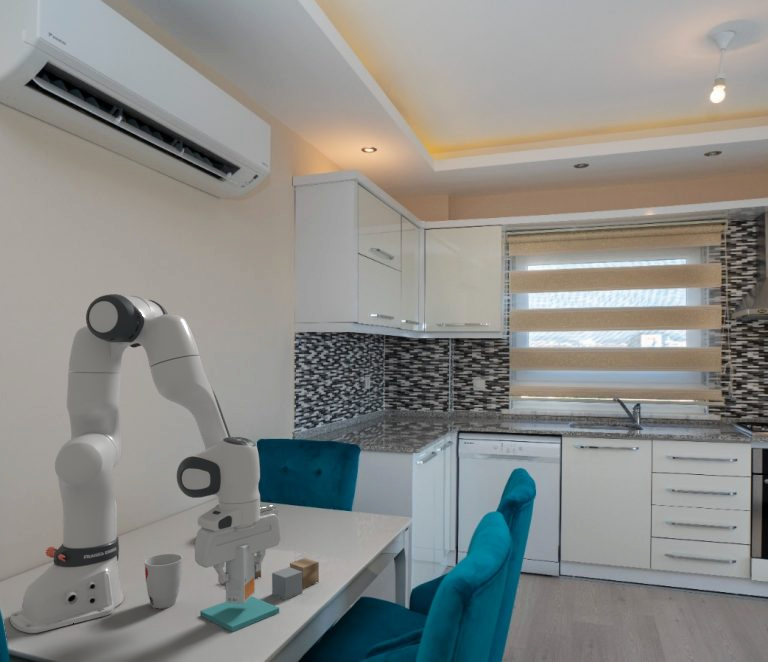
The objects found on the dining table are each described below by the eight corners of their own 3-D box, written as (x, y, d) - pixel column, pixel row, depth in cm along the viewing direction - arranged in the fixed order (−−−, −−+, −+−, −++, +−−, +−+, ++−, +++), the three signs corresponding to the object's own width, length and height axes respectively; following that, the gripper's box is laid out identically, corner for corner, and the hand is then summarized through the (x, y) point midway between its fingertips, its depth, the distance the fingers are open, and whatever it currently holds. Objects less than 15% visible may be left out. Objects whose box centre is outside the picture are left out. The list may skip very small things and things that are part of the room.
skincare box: (244, 604, 127) (243, 547, 127) (225, 603, 128) (224, 546, 128) (255, 593, 133) (254, 538, 133) (238, 592, 134) (237, 538, 134)
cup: (153, 596, 140) (153, 553, 141) (187, 596, 140) (187, 553, 140) (138, 611, 132) (138, 565, 133) (174, 611, 132) (174, 565, 132)
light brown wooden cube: (303, 588, 144) (303, 567, 144) (290, 583, 148) (289, 563, 148) (318, 582, 148) (318, 562, 148) (305, 577, 151) (305, 557, 152)
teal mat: (232, 631, 122) (232, 626, 122) (200, 615, 130) (200, 610, 130) (279, 612, 131) (279, 607, 131) (246, 598, 139) (246, 594, 139)
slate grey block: (285, 599, 138) (285, 577, 138) (272, 594, 141) (272, 572, 141) (302, 593, 141) (302, 571, 142) (288, 588, 145) (288, 567, 145)
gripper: (269, 500, 141) (269, 560, 140) (190, 519, 126) (190, 586, 125) (286, 505, 137) (286, 566, 136) (207, 525, 121) (207, 594, 121)
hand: (240, 576), depth 130 cm, fingers closed on skincare box, 7 cm apart
